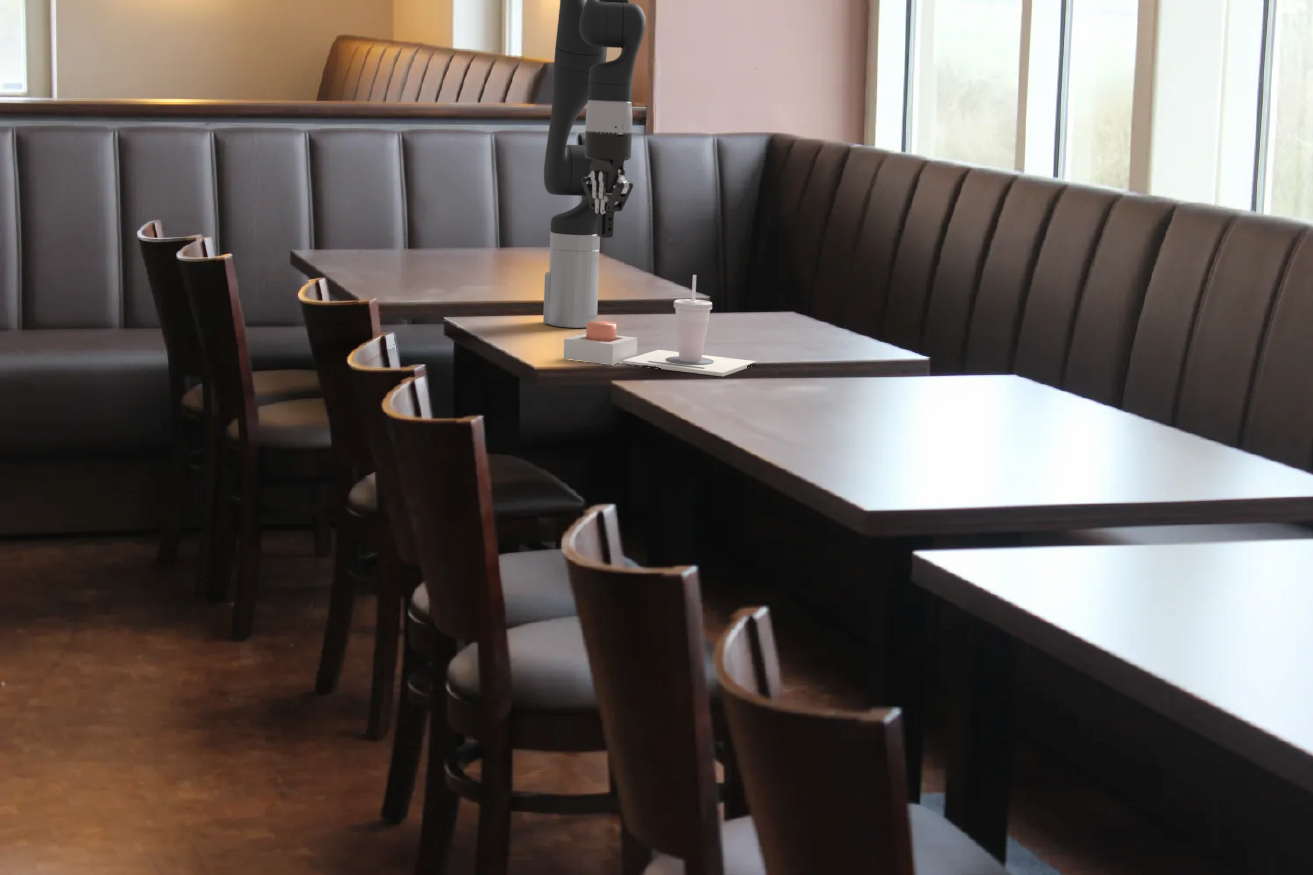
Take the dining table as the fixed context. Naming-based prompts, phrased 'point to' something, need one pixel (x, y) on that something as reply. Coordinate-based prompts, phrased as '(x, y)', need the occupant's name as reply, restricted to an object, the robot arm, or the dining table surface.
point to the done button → (601, 331)
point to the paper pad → (690, 363)
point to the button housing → (600, 349)
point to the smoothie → (691, 326)
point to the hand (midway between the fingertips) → (604, 237)
